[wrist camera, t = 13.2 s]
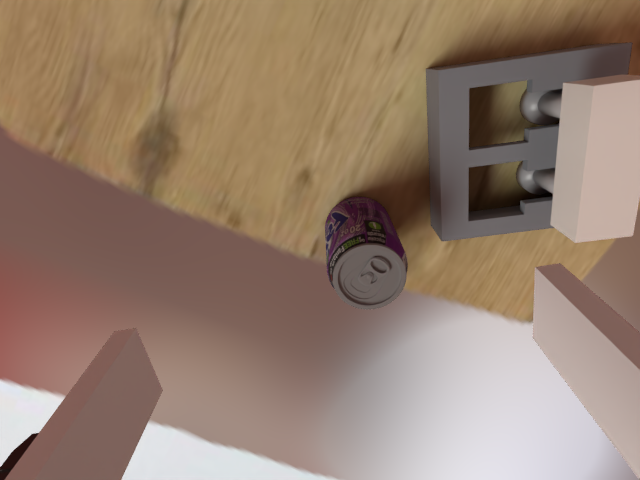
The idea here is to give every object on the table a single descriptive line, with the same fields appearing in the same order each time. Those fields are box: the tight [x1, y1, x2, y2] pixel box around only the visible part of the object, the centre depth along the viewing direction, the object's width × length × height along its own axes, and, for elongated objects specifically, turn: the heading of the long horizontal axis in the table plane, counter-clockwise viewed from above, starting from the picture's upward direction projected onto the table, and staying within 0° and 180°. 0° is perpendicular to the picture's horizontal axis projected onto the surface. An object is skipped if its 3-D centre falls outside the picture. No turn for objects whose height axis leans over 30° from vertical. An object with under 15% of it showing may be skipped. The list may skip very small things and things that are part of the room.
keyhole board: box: [426, 43, 632, 241], centre depth 40 cm, size 16×16×4 cm
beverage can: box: [325, 197, 408, 309], centre depth 41 cm, size 7×7×12 cm
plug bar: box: [516, 74, 640, 243], centre depth 37 cm, size 12×4×12 cm, turn 8°
